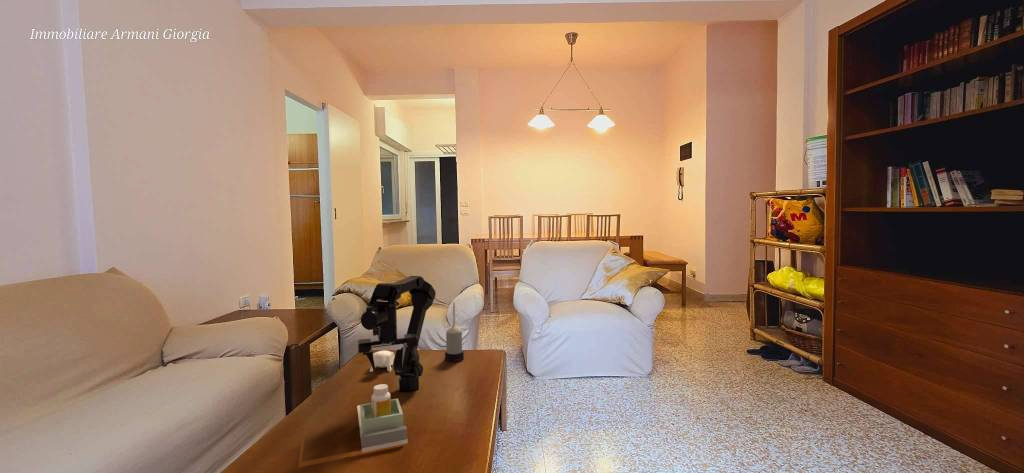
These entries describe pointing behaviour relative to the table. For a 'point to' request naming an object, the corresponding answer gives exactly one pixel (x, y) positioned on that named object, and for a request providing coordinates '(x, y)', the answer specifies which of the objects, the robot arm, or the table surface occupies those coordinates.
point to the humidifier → (454, 342)
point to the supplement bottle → (381, 401)
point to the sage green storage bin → (381, 418)
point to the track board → (381, 437)
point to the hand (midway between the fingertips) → (388, 368)
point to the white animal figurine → (383, 360)
